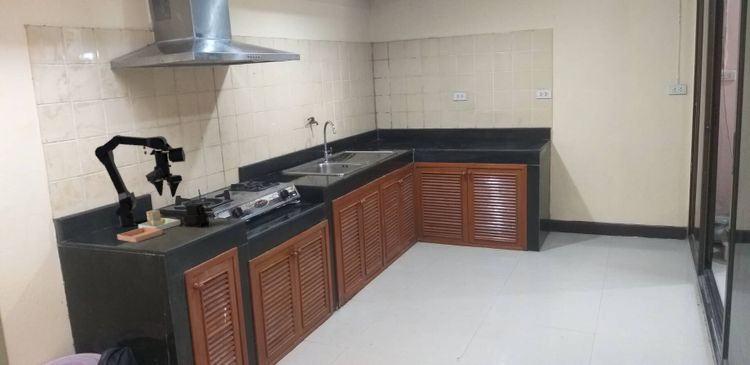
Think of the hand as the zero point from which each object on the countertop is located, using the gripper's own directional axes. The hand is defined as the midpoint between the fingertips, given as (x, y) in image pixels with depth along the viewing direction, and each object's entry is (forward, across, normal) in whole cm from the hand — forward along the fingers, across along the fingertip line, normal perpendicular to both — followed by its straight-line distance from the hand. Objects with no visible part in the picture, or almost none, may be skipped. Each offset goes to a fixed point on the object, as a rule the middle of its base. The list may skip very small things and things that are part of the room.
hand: (167, 196), depth 281 cm
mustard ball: (+12, +2, -6) cm, 14 cm away
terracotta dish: (+12, +11, -24) cm, 29 cm away
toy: (+13, +23, -1) cm, 26 cm away
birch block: (+12, +5, -12) cm, 18 cm away
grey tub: (+12, +4, -9) cm, 16 cm away
